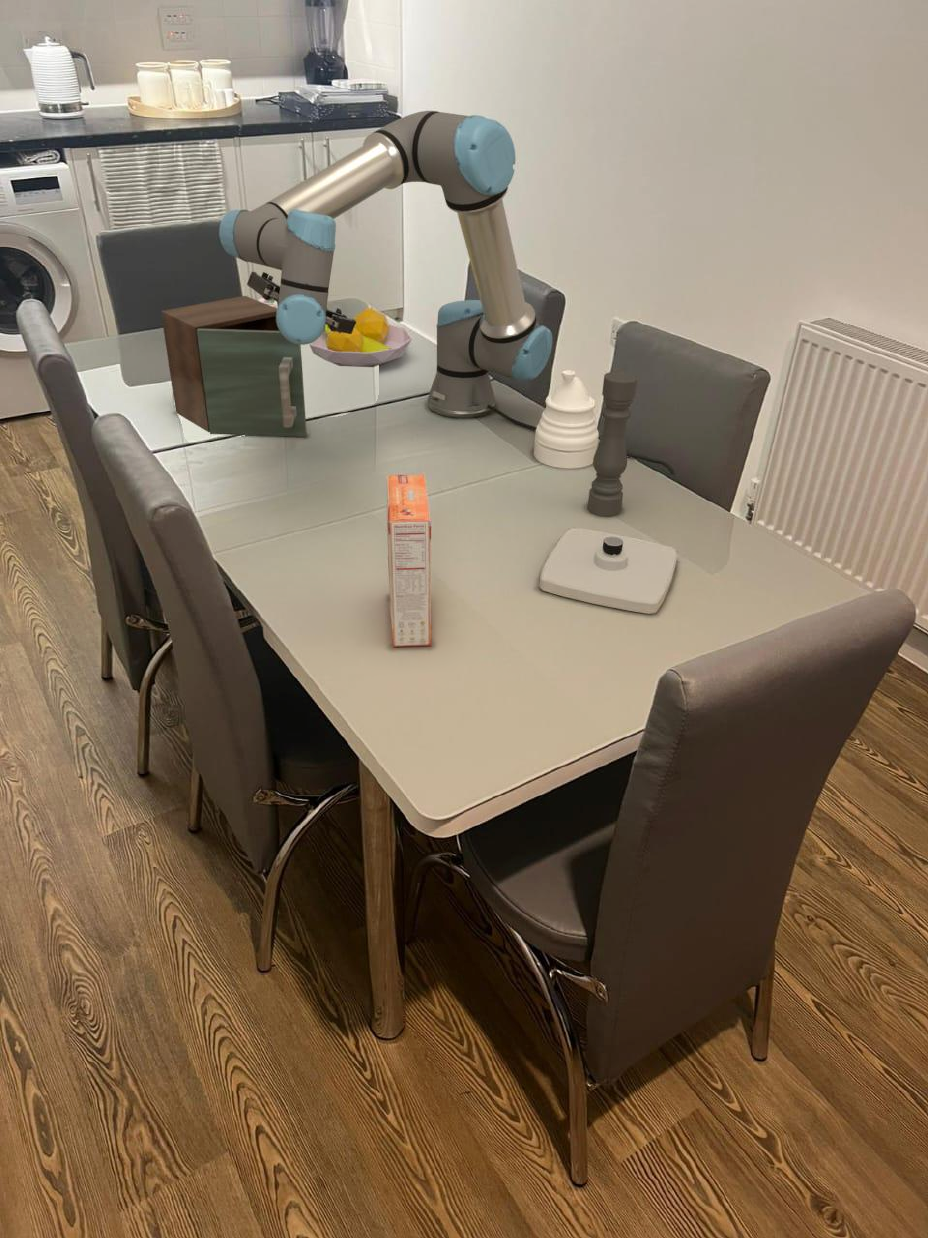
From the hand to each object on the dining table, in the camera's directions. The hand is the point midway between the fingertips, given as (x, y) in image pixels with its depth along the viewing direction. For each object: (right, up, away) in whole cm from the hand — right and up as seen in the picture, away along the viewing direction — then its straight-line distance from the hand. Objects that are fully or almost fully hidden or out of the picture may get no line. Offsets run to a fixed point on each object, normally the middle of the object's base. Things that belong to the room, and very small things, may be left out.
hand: (302, 299), depth 177 cm
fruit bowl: (+3, +6, +62) cm, 62 cm away
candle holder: (+56, -40, -4) cm, 70 cm away
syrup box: (-18, +5, +59) cm, 62 cm away
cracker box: (+22, -61, -37) cm, 75 cm away
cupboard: (-21, -15, +29) cm, 39 cm away
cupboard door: (-13, -24, +16) cm, 31 cm away
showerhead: (+54, -53, -24) cm, 80 cm away
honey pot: (+51, -27, +15) cm, 60 cm away
